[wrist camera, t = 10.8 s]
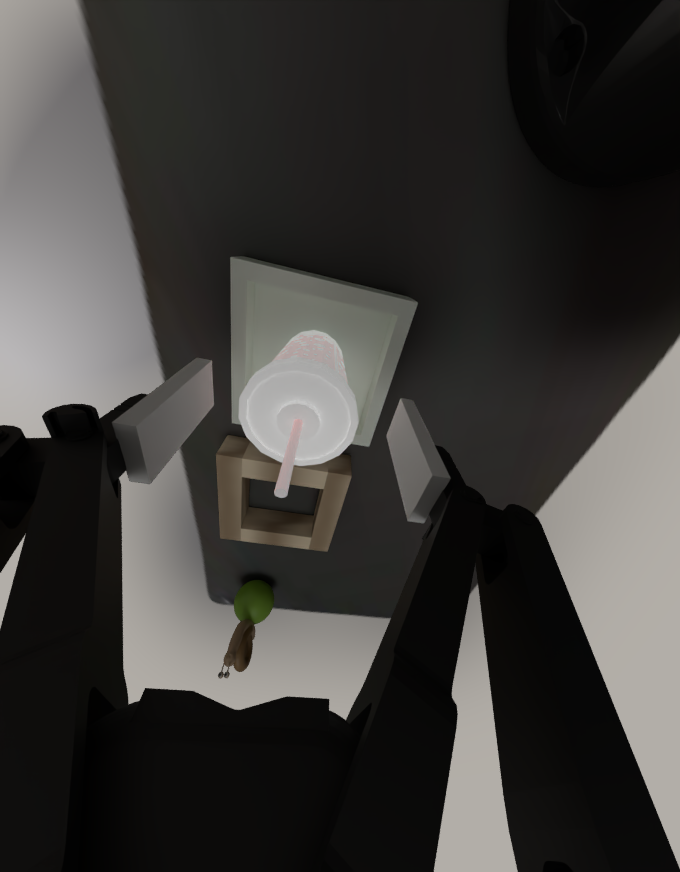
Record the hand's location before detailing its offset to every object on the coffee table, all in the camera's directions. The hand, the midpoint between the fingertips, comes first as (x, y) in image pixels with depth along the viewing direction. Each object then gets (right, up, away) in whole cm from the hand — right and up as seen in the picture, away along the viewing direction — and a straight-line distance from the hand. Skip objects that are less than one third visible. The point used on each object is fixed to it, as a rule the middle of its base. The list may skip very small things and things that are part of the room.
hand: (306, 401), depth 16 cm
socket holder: (-4, -8, +14) cm, 17 cm away
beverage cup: (0, +4, +6) cm, 7 cm away
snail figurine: (-10, -23, +25) cm, 36 cm away
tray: (0, +4, +6) cm, 7 cm away
